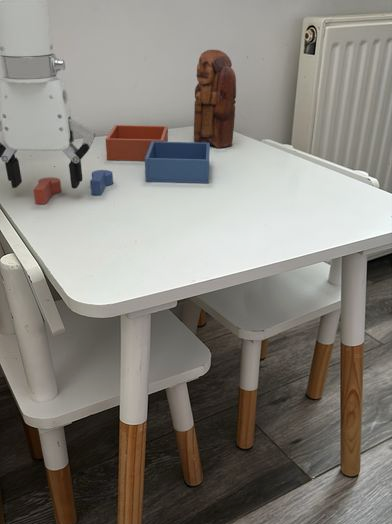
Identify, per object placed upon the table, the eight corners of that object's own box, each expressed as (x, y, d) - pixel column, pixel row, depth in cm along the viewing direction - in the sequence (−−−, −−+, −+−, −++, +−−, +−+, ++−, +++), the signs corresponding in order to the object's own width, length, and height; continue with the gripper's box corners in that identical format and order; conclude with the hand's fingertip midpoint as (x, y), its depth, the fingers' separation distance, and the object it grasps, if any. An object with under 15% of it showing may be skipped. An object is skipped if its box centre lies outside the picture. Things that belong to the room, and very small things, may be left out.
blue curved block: (106, 195, 93) (105, 181, 91) (85, 194, 93) (83, 180, 91) (114, 180, 99) (113, 166, 98) (94, 179, 99) (93, 166, 98)
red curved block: (51, 204, 89) (49, 189, 87) (29, 204, 89) (26, 189, 87) (63, 187, 95) (61, 173, 94) (42, 187, 95) (40, 173, 94)
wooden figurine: (184, 138, 125) (184, 48, 115) (206, 134, 128) (208, 46, 118) (217, 150, 117) (221, 54, 107) (240, 145, 121) (245, 52, 111)
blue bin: (145, 181, 99) (144, 158, 97) (152, 162, 109) (151, 141, 107) (208, 183, 99) (209, 160, 97) (209, 163, 109) (209, 142, 107)
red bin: (106, 160, 110) (105, 139, 108) (116, 144, 120) (114, 124, 118) (163, 161, 110) (163, 140, 107) (168, 145, 120) (167, 126, 118)
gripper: (93, 65, 84) (103, 179, 93) (-21, 64, 84) (1, 178, 94) (83, 72, 77) (95, 193, 87) (-40, 71, 78) (-15, 192, 87)
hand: (46, 185), depth 90 cm, fingers open, 9 cm apart
